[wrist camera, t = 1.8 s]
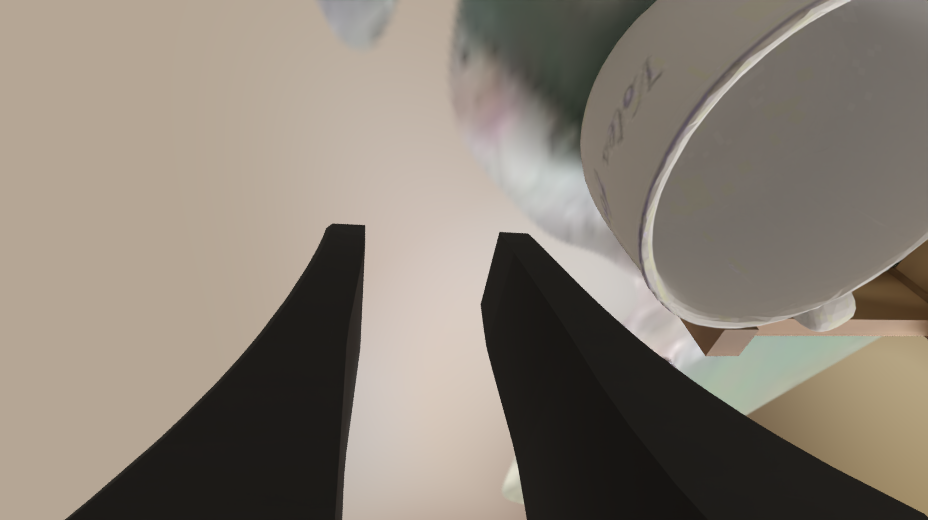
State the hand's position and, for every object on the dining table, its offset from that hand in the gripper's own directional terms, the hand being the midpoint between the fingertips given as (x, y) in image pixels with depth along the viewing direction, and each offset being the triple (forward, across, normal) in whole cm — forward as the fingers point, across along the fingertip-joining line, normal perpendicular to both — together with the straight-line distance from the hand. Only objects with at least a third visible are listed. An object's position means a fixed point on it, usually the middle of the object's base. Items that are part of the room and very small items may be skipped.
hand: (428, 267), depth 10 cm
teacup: (+10, -12, 0) cm, 16 cm away
